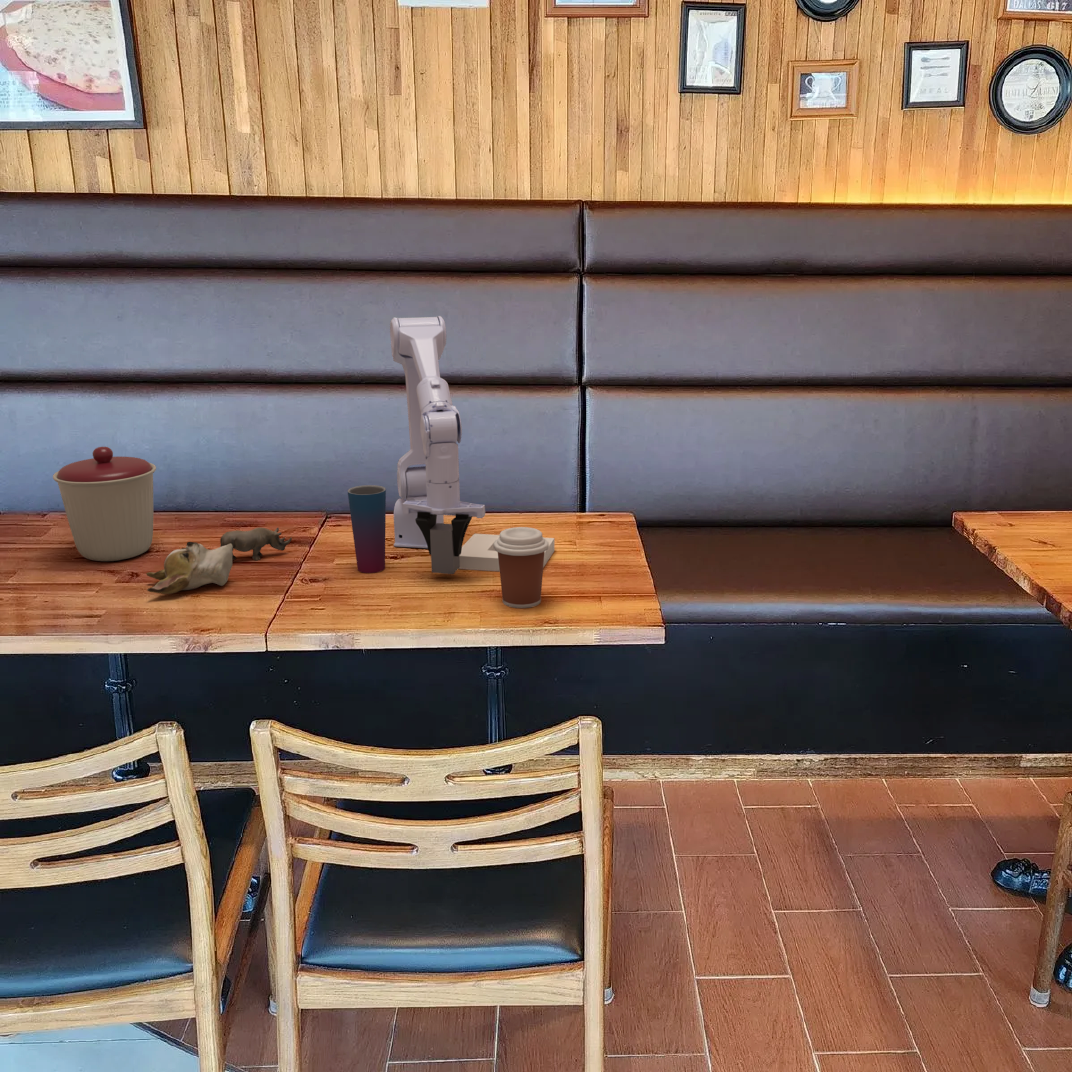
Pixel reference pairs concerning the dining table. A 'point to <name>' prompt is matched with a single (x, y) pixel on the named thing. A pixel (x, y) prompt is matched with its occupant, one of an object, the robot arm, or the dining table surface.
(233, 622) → the dining table surface
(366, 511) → the cup
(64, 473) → the canister
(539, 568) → the coffee cup
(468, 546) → the socket plate
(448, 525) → the plug
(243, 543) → the rhino figurine
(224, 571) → the ceramic sculpture
